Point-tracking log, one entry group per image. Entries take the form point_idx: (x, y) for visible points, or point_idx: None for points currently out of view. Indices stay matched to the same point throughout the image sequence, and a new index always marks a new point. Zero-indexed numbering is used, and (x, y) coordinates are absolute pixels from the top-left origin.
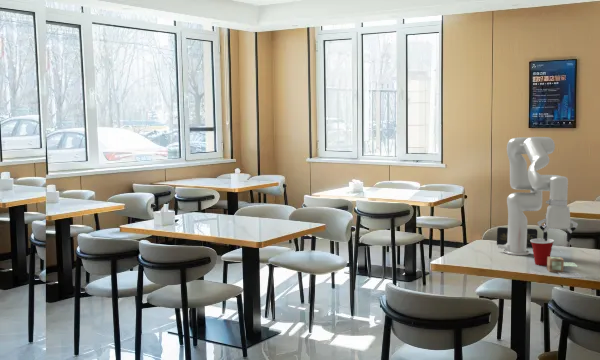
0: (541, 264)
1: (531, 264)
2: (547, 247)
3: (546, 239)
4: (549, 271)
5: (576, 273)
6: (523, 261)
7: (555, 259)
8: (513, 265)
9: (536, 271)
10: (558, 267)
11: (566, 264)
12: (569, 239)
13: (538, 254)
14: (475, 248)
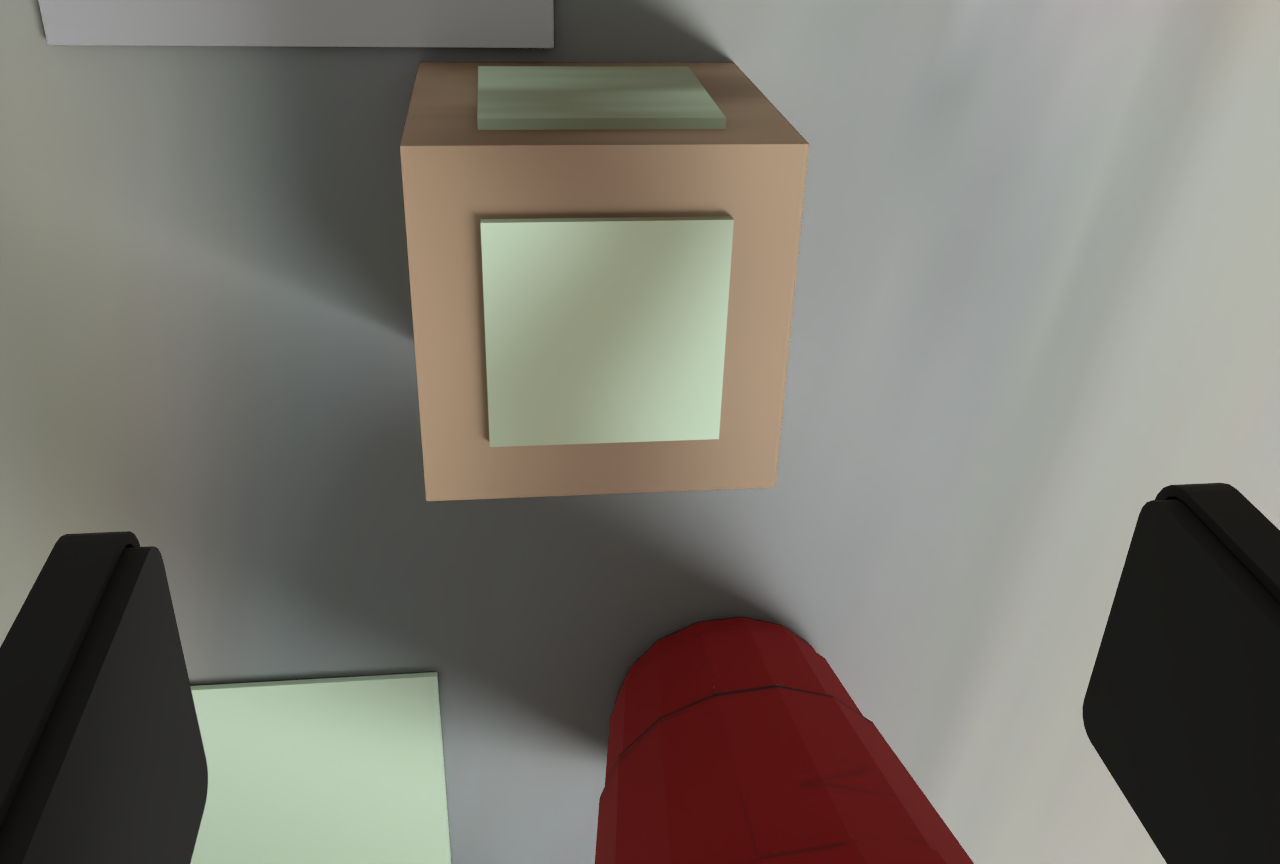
0: (751, 627)
1: (901, 656)
2: None
3: (1221, 513)
4: (731, 67)
5: (103, 3)
6: (964, 820)
7: (648, 142)
8: (1262, 496)
9: (1010, 50)
10: (540, 79)
11: (271, 794)
12: (40, 603)
13: (874, 751)
14: None
